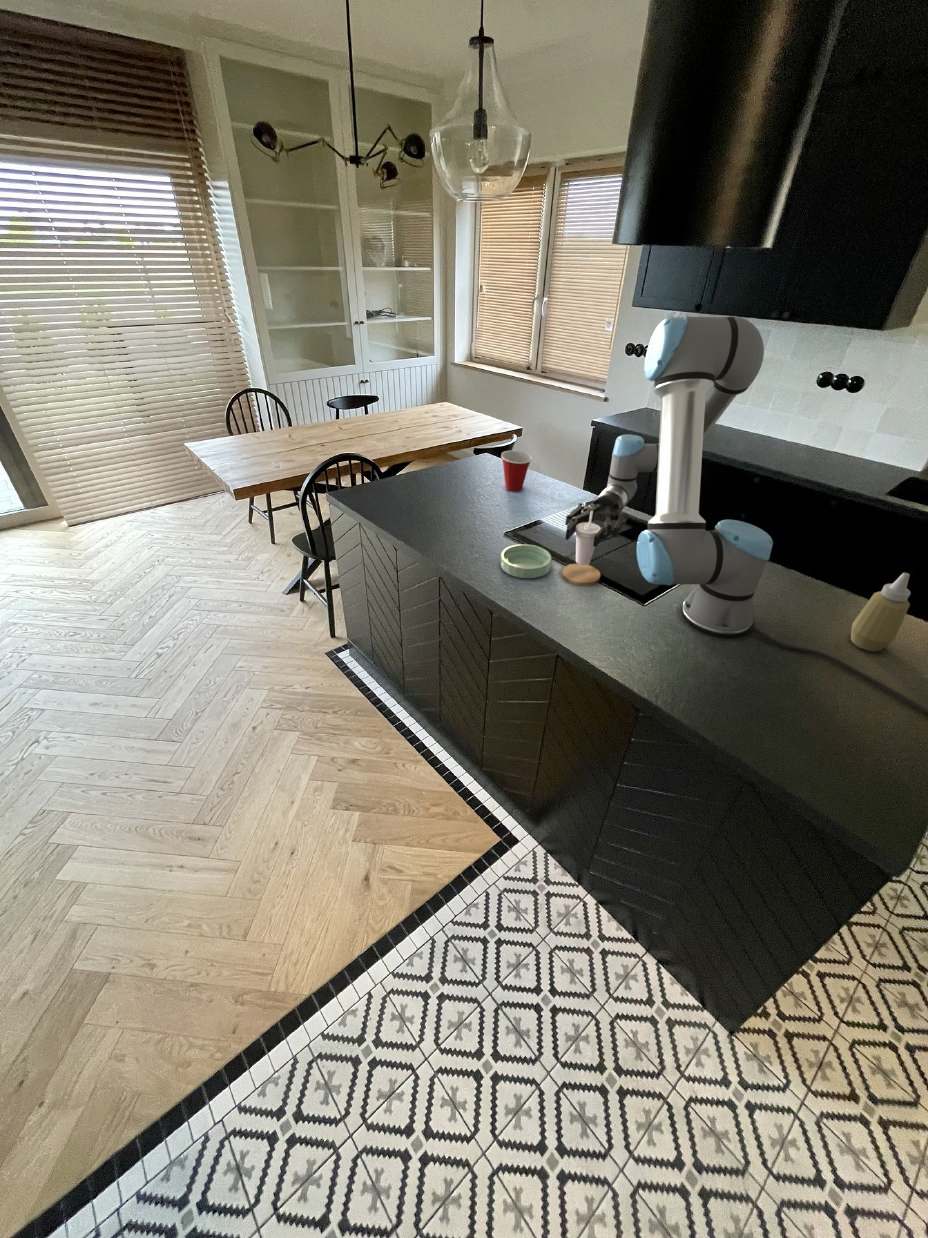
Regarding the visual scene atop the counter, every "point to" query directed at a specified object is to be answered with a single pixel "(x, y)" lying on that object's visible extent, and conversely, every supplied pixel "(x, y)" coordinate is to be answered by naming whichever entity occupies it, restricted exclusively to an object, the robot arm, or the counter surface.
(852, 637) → the squeeze bottle
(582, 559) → the smoothie
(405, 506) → the counter surface
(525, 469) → the plastic cup
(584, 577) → the coaster
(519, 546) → the bowl
